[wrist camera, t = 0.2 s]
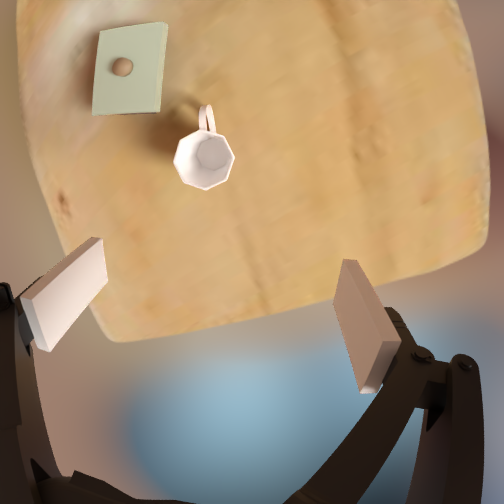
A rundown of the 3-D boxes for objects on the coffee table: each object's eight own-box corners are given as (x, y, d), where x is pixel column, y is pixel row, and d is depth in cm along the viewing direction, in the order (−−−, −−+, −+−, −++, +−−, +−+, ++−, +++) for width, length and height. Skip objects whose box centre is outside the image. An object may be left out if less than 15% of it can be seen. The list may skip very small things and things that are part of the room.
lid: (107, 34, 29) (95, 29, 26) (168, 25, 29) (160, 18, 26) (99, 115, 34) (86, 116, 31) (160, 112, 34) (150, 111, 31)
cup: (191, 179, 41) (175, 192, 34) (186, 109, 37) (168, 106, 30) (242, 176, 41) (236, 188, 33) (238, 104, 37) (231, 99, 29)
